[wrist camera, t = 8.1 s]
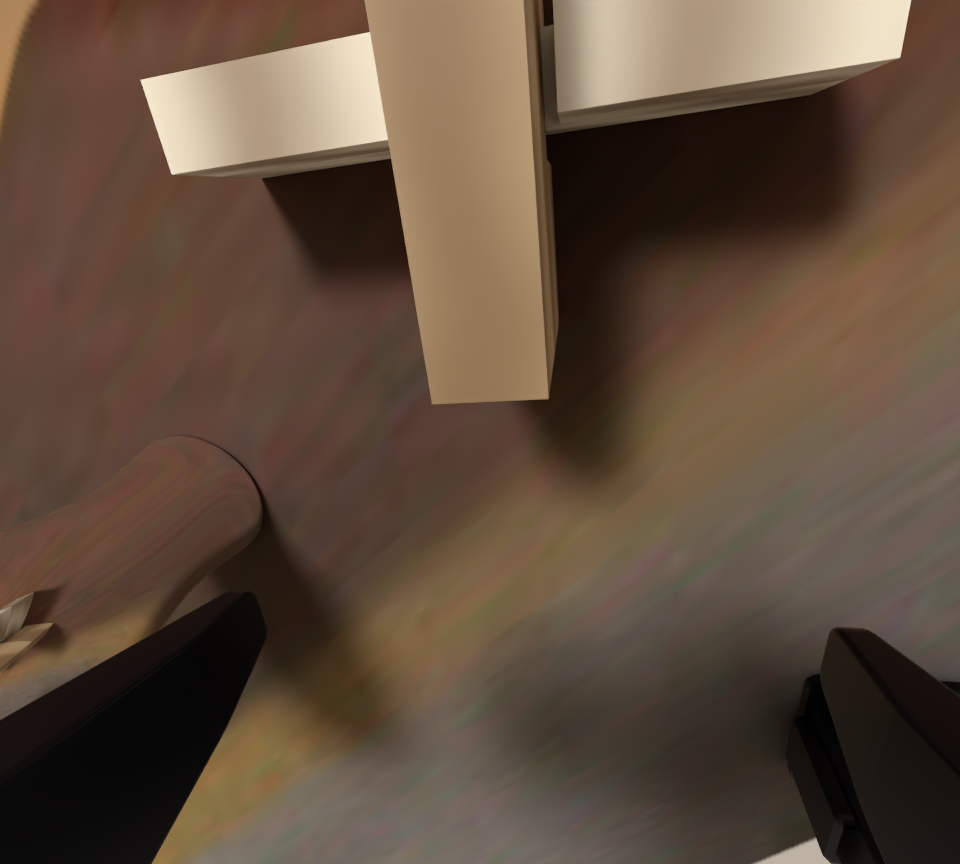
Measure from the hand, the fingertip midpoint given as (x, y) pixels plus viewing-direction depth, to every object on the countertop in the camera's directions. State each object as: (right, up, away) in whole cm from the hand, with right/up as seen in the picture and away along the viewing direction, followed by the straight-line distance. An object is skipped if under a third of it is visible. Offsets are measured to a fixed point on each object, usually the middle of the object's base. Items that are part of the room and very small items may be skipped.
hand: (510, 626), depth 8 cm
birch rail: (0, +12, +6) cm, 14 cm away
